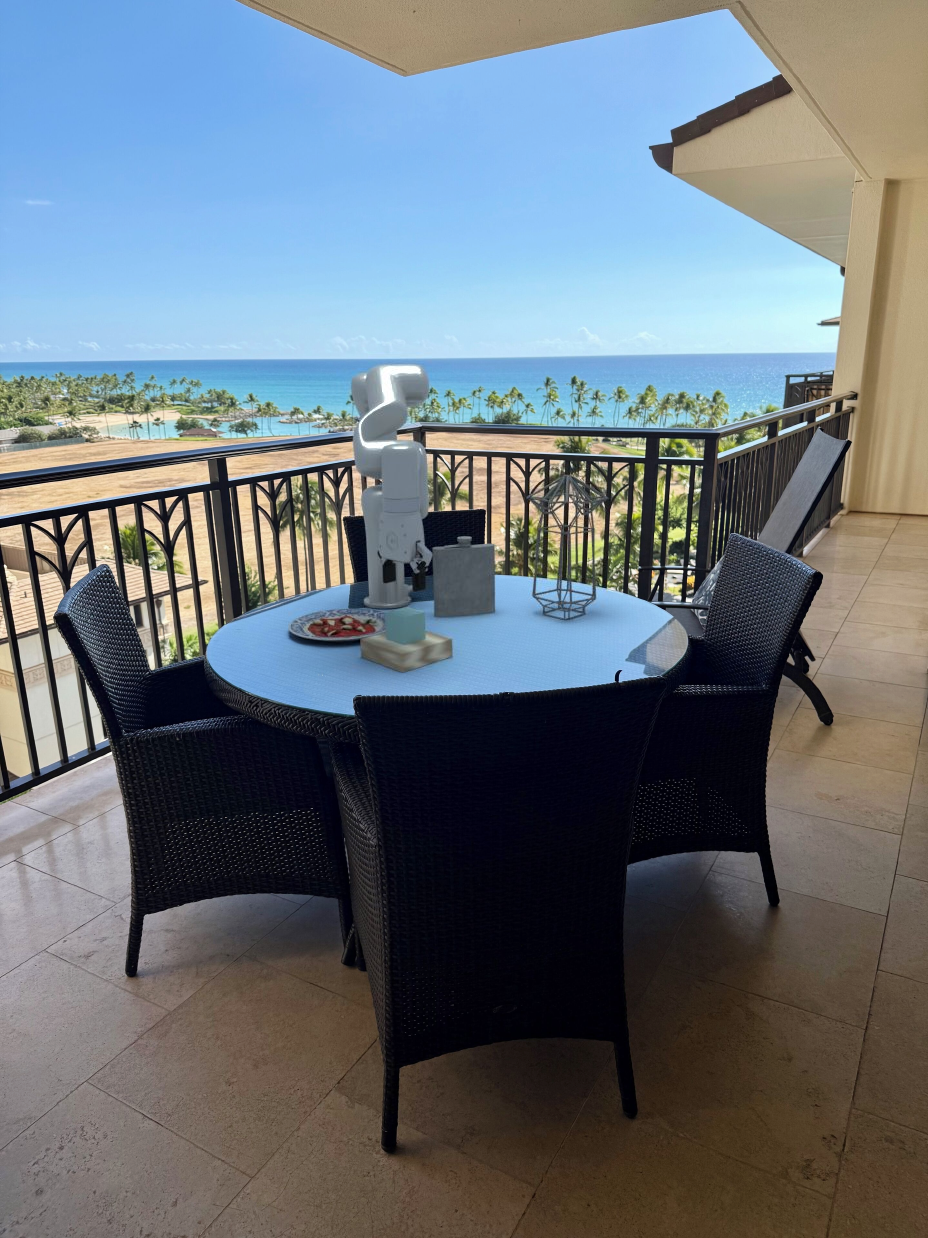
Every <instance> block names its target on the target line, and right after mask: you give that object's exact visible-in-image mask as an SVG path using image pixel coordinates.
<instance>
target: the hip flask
mask: <svg viewBox="0 0 928 1238" xmlns="http://www.w3.org/2000/svg"><path fill="white" fill-rule="evenodd" d="M456 539H457V540H456V541H457V542H458V543H457V544H450V545H444V546H434V547H432V571H433V572H432V573H433V574H432V575H433V578H432V579H433V580H432V582H433V584H432V585H433V609H434V612H433V613H434V614H433V615H434V616H433V617H435V618H458V617H460V618H461V617H471V616H472V617H473V616H480V615H490V614H494V613H495V612H496V569H495V568H496V558H495V557H496V556H495V555H496V554H495V553H496V547H495V546H496V545H495V543H483V544H472V543H471V542H472V536H469V535H468V536H465V535H463V536H458V537H457V538H456Z"/></svg>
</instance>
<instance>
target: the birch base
mask: <svg viewBox="0 0 928 1238" xmlns="http://www.w3.org/2000/svg"><path fill="white" fill-rule="evenodd" d="M425 632H426V639H423V640H420V641H417V642H413V643H410V644H407V645H402V644H399V643H396V642H393V641H390V640H387V639H386V632H385V633H382V634H379V635H375V636H371V637H367V638H364V639H359V640H360V653H361V654H360V657H361V658H363V659H365V660H368V661H371V662H373V663H376V664H379V665H381V666H385V667H387V668H390V669H392V670H396V671H397V672H400V673H406V672H408V671H412V670H415V669H418V668H421V667H424V666H426V665H431V664H433V663H437V662H439V661H442V660H445V659H448V658H453V656H454V655H453V654H454V652H453V638H451V637H448V636H445V635H442V634H438V633H436V632H435V633H434V632H432V631H428V630H425Z"/></svg>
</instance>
